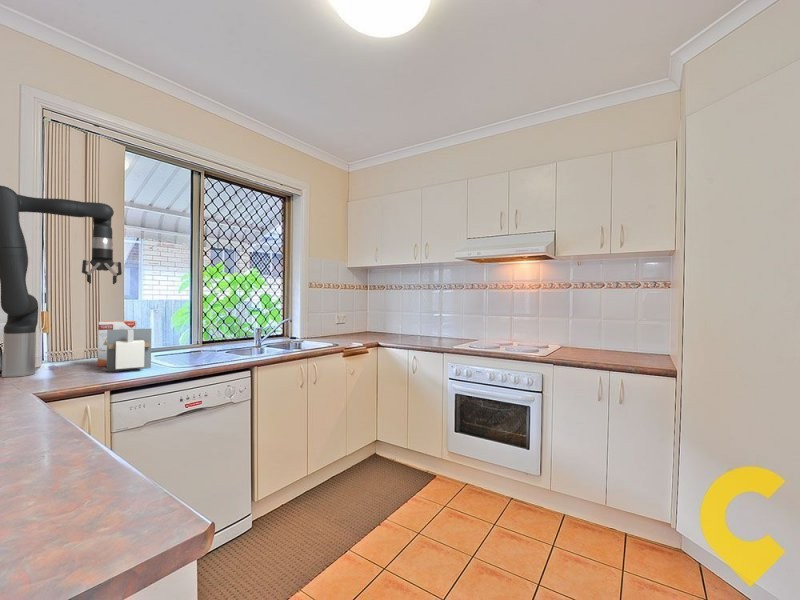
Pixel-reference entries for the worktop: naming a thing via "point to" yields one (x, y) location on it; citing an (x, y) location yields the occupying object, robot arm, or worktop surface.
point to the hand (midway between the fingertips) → (102, 283)
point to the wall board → (122, 335)
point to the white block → (129, 352)
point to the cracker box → (103, 337)
